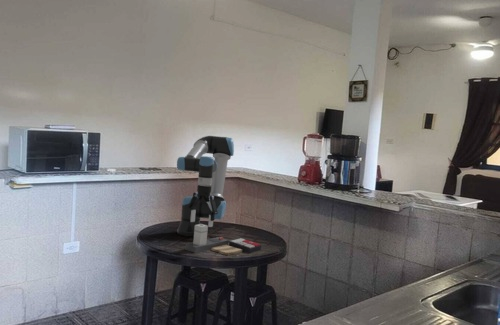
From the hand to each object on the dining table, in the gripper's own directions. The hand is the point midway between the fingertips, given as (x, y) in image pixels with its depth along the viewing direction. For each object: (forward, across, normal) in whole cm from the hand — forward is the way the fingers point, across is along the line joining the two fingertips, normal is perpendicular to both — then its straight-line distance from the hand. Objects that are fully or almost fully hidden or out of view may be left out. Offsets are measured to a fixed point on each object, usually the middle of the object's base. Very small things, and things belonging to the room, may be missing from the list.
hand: (201, 224), depth 222 cm
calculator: (+14, +13, +23) cm, 30 cm away
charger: (+13, 0, 0) cm, 13 cm away
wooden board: (+14, +11, +10) cm, 20 cm away
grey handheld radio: (+14, 0, +9) cm, 17 cm away
